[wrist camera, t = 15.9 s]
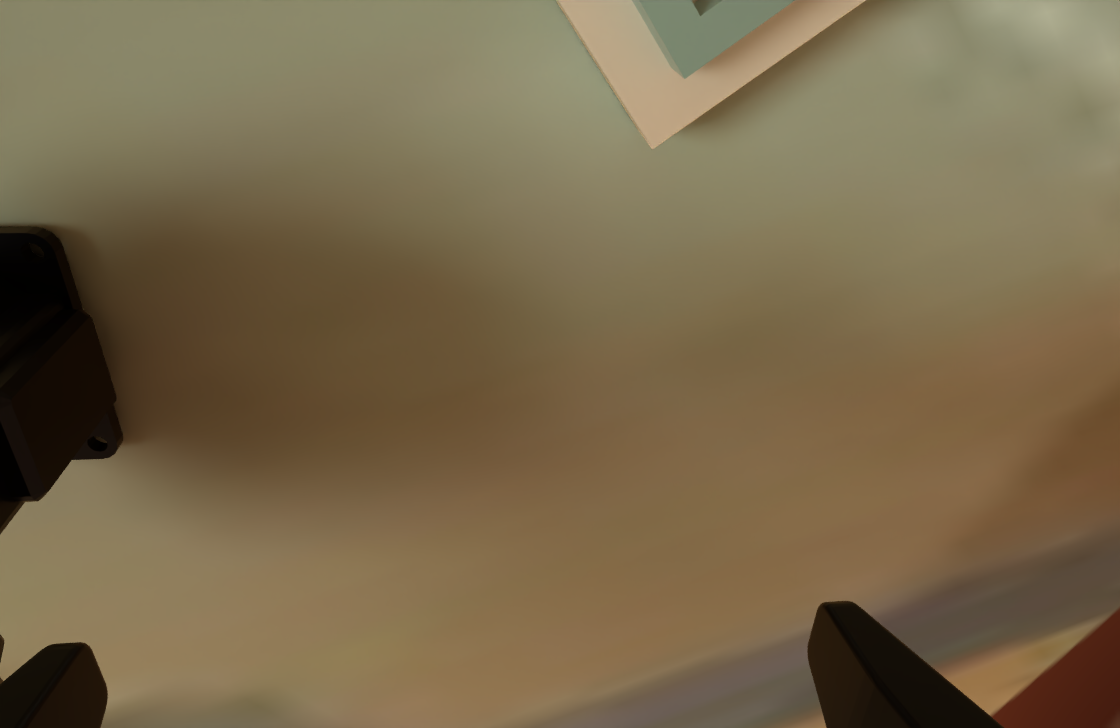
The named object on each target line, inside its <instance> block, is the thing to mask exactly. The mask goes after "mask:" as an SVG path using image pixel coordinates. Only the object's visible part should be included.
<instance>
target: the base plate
mask: <svg viewBox="0 0 1120 728" xmlns="http://www.w3.org/2000/svg"><path fill="white" fill-rule="evenodd" d="M864 1H866V0H556V2H557V3H558V5H559V6H560V8H561V9H562V11H563V13H564V14H565V16H566V17H567V19H568V21H569V22H570V24H571V25H572V27H573V28H574V30H575V32H576V33H577V35H578V36H579V38H580V39H581V41H582V43H583V44H584V46H585V47H586V49H587V50H588V52H589V54H590V55H591V57H592V58H593V60H594V62H595V63H596V65H597V66H598V68H599V69H600V71H601V73H602V74H603V76H604V77H605V79H606V80H607V82H608V84H609V85H610V87H611V88H612V90H613V91H614V93H615V95H616V96H617V98H618V99H619V101H620V102H621V104H622V106H623V107H624V109H625V110H626V112H627V114H628V115H629V117H630V118H631V120H632V121H633V123H634V125H635V126H636V128H637V129H638V130H639V132H640V133H641V135H642V136H643V137H644V139H645V140H646V141H647V143H648V144H649V146H650V147H651V148H652V149H654V148H655V147H657V146H658V145H659V144H661V143H662V142H664V141H665V140H667V139H668V138H669V137H671V136H672V135H674V134H675V133H677V132H678V131H680V130H681V129H682V128H684V127H685V126H687V125H688V124H690V123H691V122H692V121H694V120H695V119H697V118H698V117H700V116H701V115H702V114H704V113H705V112H707V111H708V110H710V109H711V108H712V107H714V106H715V105H717V104H718V103H720V102H721V101H722V100H724V99H725V98H727V97H728V96H730V95H731V94H732V93H734V92H735V91H737V90H738V89H740V88H741V87H742V86H744V85H745V84H747V83H748V82H750V81H751V80H752V79H754V78H755V77H757V76H758V75H760V74H761V73H762V72H764V71H765V70H767V69H768V68H770V67H771V66H773V65H774V64H775V63H777V62H778V61H780V60H781V59H783V58H784V57H785V56H787V55H788V54H790V53H791V52H793V51H794V50H795V49H797V48H798V47H800V46H801V45H803V44H804V43H805V42H807V41H808V40H810V39H811V38H813V37H814V36H815V35H817V34H818V33H820V32H821V31H823V30H824V29H825V28H827V27H828V26H830V25H831V24H833V23H834V22H835V21H837V20H838V19H840V18H841V17H843V16H844V15H845V14H847V13H848V12H850V11H851V10H853V9H854V8H855V7H857V6H858V5H860V4H861V3H863V2H864Z"/></svg>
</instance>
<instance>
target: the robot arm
mask: <svg viewBox="0 0 1120 728" xmlns="http://www.w3.org/2000/svg"><path fill="white" fill-rule="evenodd" d="M29 243H33V244H36V245H38V246H39V247H41V249H42V250H43V252H44V257H42V256H38V255H36V254H35V253H33V252H32V250H31V249H30V247H29ZM115 401H116V394H115V390H114V387H113V384H112V381H111V378H110V374H109V371H108V368H107V365H106V362H105V358H104V355H103V352H102V349H101V346H100V342H99V339H98V336H97V333H96V330H95V327H94V323H93V320H92V318H91V317H90V316H89V315H88V314H87V313H86V312H85V311H84V310H83V308H82V305H81V302H80V299H79V296H78V293H77V289H76V286H75V283H74V280H73V277H72V274H71V271H70V267H69V264H68V261H67V258H66V255H65V252H64V249H63V246H62V244H61V242H60V240H59V239H58V238H57V237H56V236H55V235H54V234H53V233H52V232H50V231H48V230H46V229H44V228H39V227H0V534H1V533H2V531H3V530H4V529H5V527H6V526H7V525H8V524H9V522H10V521H11V520H12V518H13V517H14V516H15V514H16V513H17V512H18V510H19V509H20V508H21V507H22V505H23V504H24V503H25V502H32V501H39V500H41V499H42V498H43V497H44V496H45V495H46V493H47V492H48V491H49V490H50V489H51V487H52V486H53V485H54V483H55V482H56V481H57V479H58V478H59V476H60V475H61V474H62V472H63V471H64V470H65V468H66V467H67V466H68V464H69V463H70V462H71V460H82V459H104V458H109V457H111V456H112V455H114V454H115V453H116V451H117V450H118V448H119V447H120V445H121V443H122V441H123V434H122V431H121V428H120V425H119V422H118V418H117V415H116V412H115V409H114V406H113V403H114V402H115ZM94 436H98V437H101V438H103V439H105V441H106V442H107V443H103V442H100V441H98V440H96V438H95V437H94ZM3 647H4V639H3V637H2V636H1V635H0V662H1V657H2V652H3ZM808 661H809V665H810V669H811V673H812V676H813V680H814V683H815V687H816V691H817V694H818V698H819V702H820V705H821V709H822V712H823V716H824V720H825V723H826V727H827V728H1004V727H1003V726H1001V725H1000V724H999V723H998V722H997V721H995V720H994V719H993V718H992V717H991V716H989V715H988V714H987V713H986V712H985V711H984V710H982V709H981V708H980V707H979V706H978V705H976V704H975V703H974V702H973V701H972V700H970V699H969V698H968V697H967V696H966V695H964V694H963V693H962V692H961V691H960V690H958V689H957V688H956V687H955V686H954V685H953V684H951V683H950V682H949V681H948V680H947V679H945V678H944V677H943V676H942V675H941V674H939V673H938V672H937V671H936V670H935V669H933V668H932V667H931V666H930V665H929V664H927V663H926V662H925V661H924V660H923V659H921V658H920V657H919V656H918V655H917V654H916V653H914V652H913V651H912V650H911V649H910V648H908V647H907V646H906V645H905V644H904V643H902V642H901V641H900V640H899V639H898V638H896V637H895V636H894V635H893V634H892V633H890V632H889V631H888V630H887V629H886V628H885V627H883V626H882V625H881V624H880V623H879V622H877V621H876V620H875V619H874V618H873V617H871V616H870V615H869V614H868V613H867V612H865V611H864V610H863V609H862V608H861V607H859V606H858V605H857V604H855V603H853V602H850V601H835V602H824V603H822V604H821V605H820V606H819V607H818V610H817V613H816V616H815V620H814V624H813V627H812V631H811V635H810V639H809V642H808ZM107 699H108V692H107V686H106V683H105V681H104V678H103V676H102V673H101V671H100V668H99V666H98V664H97V661H96V659H95V656H94V654H93V651H92V649H91V648H90V646H88V645H87V644H86V643H81V642H79V643H60V644H52V645H49V646H47V647H45V648H44V649H42V650H41V651H40V652H38V653H37V654H36V655H35V656H34V657H32V658H31V659H30V660H29V661H27V662H26V663H25V664H24V665H23V666H21V667H20V668H19V669H18V670H17V671H15V672H14V673H13V674H12V675H11V676H9V677H8V678H7V679H6V680H5V681H3V680H2V679H1V678H0V728H100V727H101V724H102V720H103V717H104V713H105V710H106V705H107Z"/></svg>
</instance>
